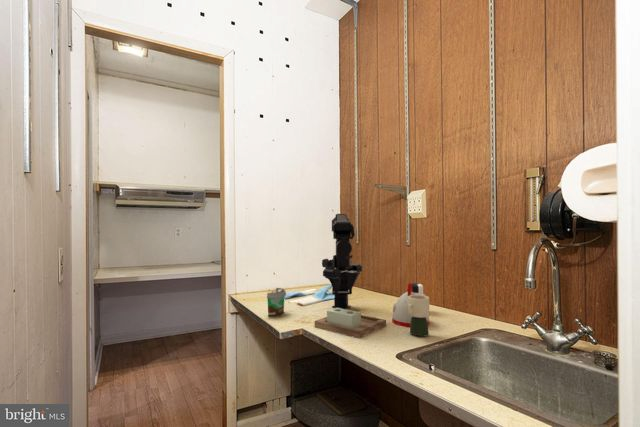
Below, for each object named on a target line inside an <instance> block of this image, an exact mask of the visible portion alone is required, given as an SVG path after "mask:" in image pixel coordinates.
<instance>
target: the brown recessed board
mask: <svg viewBox="0 0 640 427" xmlns="http://www.w3.org/2000/svg"><path fill="white" fill-rule="evenodd" d="M386 326H387V320H386V319H384V318H378V317H373V316H368V315H362V314H361V326H360V327H357V328H355V329H353V328H349V327H345V326H341V325H337V324H332V323H328V322H327V316H325V317H321V318H319V319H316V320H314V327H315V328H317V329H321V330H326V331H330V332H334V333H337V334H341V335H346V336H349V337H352V336H353V337H352V338H358V339H360V338H363V337H366V336H367V335H369V334H371V333H373V332H375V331H378V330H380V329H382V328H384V327H386Z"/></svg>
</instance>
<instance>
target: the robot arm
mask: <svg viewBox="0 0 640 427" xmlns="http://www.w3.org/2000/svg"><path fill="white" fill-rule="evenodd" d="M331 232H332V233H333V234H332V235H333V237H332V238H333V240H335V254H333V256H332V259H329V258H323V259H322V261H321V266H322V267H323V268H324V269H323V270H322V276H323V277H324V278H325V279H328V281H329V282H330V285H332V288H331V292H332V295H334V294H335V298H334V299H333V302H334V304H333V305H331V307H332V309H334V308H341V309H346V310H347V309H348V308H351V307H352V305H349V295H350V296H351V295H352V294H353V288H354V285H355V283H356V281H357V279H358V277H359V275H360V274H361V272H363V266H362V265H361V263H360V264H359V263H351V259H352V258H353V255H352V254H351V253H352V250H353V249H352V248H353V246H352V243H351V240H354V237H355V227H354V225H353V223H351V221H350V219H349V218H348V217H347V213H335V217H333V219H331Z"/></svg>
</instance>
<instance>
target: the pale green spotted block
mask: <svg viewBox="0 0 640 427" xmlns="http://www.w3.org/2000/svg"><path fill="white" fill-rule="evenodd" d="M361 315H362V312H361V311H355V310H351V309H347V308H346V309H341V308H331V309H329V310H328V309H327V310H326V317H327V322H328V323H332V324H337V325H341V326H345V327H349V328H353V329H355V328H357V327H360V326H361Z"/></svg>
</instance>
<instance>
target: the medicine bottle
mask: <svg viewBox="0 0 640 427" xmlns="http://www.w3.org/2000/svg"><path fill="white" fill-rule="evenodd" d="M411 286H412V292H414V293H415V294H417V295H423V296H426V294H424V285H423V284H421V283H411Z"/></svg>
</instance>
